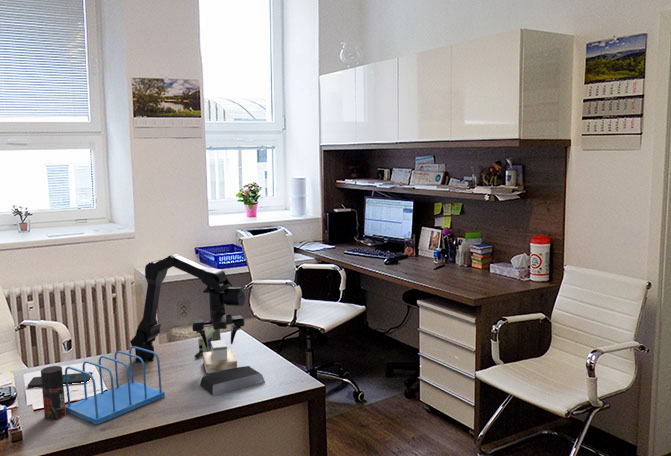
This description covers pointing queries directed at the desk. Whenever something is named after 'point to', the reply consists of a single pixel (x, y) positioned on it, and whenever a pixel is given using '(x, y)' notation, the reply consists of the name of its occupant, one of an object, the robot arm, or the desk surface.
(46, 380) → the deodorant
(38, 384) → the smart home device
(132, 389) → the file sorter
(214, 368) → the cream rectangular block
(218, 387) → the external hard drive
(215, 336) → the handheld radio
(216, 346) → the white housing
